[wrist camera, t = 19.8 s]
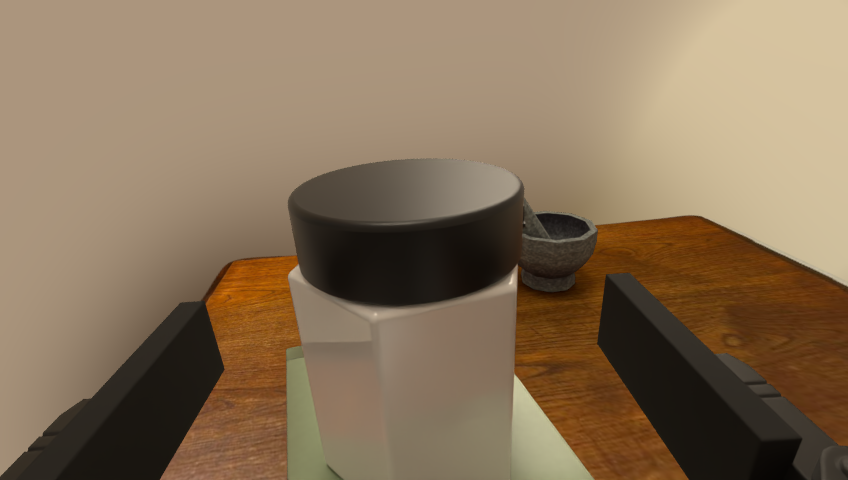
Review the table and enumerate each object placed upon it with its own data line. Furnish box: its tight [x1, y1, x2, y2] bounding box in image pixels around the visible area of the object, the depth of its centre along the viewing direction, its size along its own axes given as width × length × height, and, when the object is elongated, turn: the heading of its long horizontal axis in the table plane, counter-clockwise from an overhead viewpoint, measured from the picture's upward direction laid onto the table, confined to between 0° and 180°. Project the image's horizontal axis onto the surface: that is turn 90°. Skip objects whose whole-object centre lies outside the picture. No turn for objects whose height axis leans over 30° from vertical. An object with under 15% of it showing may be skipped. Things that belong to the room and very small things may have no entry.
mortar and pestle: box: [518, 198, 598, 292], centre depth 48 cm, size 11×9×12 cm
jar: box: [288, 159, 525, 480], centre depth 17 cm, size 9×8×12 cm
